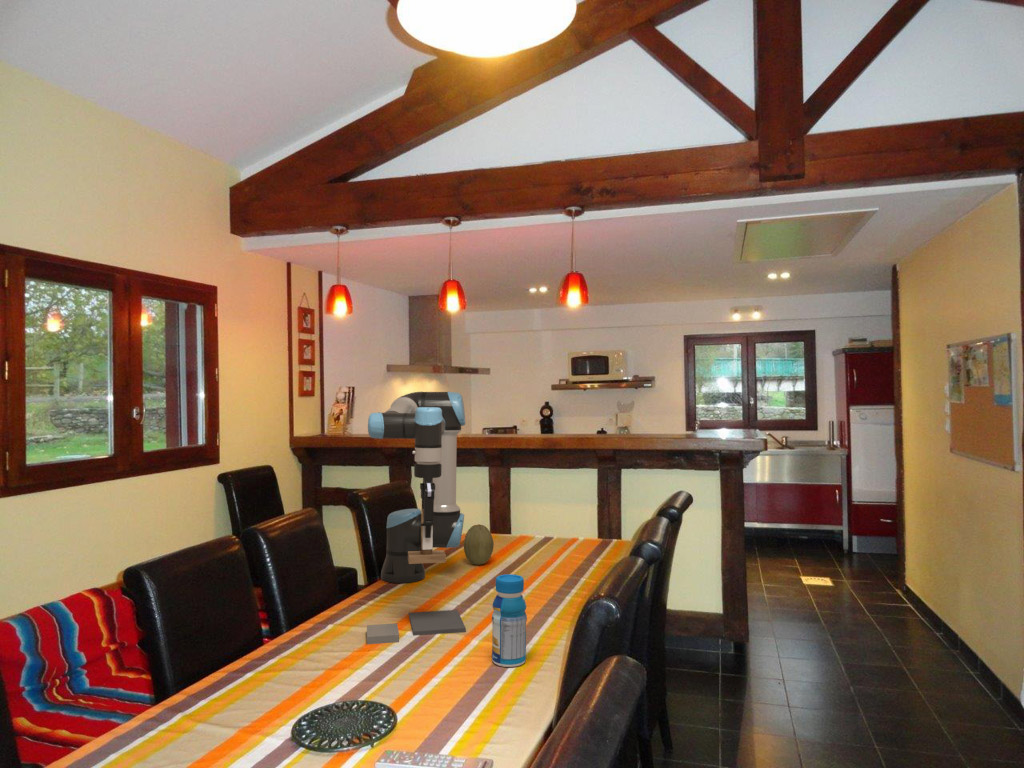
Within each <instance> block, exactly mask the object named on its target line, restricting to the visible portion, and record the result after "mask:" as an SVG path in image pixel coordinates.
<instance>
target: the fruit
mask: <svg viewBox="0 0 1024 768" xmlns="http://www.w3.org/2000/svg"><path fill="white" fill-rule="evenodd" d="M494 546H495V545H494V539H493V536H492V533H491V531H490V530H489V529H488V527H487V526H486V525H483V524H479V523H478V524H474V525H472V526H471V527H470V528H469V529H468V530H467V532H466V533H465V536H464V541H463V551H464V552H463V553H464V556H465V557H466V559H467V561H468V562H470V563H471V564H473V565H480V566H481V565H484V564H486V563H487V562H488V561H489V560H490V558H491V557H492V554H493V551H494Z"/></svg>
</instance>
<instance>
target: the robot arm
mask: <svg viewBox="0 0 1024 768" xmlns="http://www.w3.org/2000/svg"><path fill="white" fill-rule="evenodd" d="M367 419H368V421H367V433H368V436H369V437H370V438H371V439H379V440H382V439H407V440H409V439H410V440H411V439H412V440H413V439H414V450H412V453H411V454H412V455H414V462H416V463H414V465H413V467H414V468H413V470H414V471H413V474H414V475H413V476H414V477H415V478H417V479H422V482H421V483H420V484H419V488H420V498H421V508H405V509H399V510H396V511H392V512H391V513H389V514H388V516H387V519H386V526H385V527H386V556H385V558H384V561H383V564H382V568H381V570H380V571H381V572H380V579H381V580H382V581H384V582H388V583H395V584H404V583H405V584H407V583H413V582H418V581H422V580H424V579H425V577H426V569H425V566H424V563H419V564H409V562H408V551H421V526H423V542H422V549H423V550H426V549H433V548H434V549H435V548H437V549H439V548H440V549H443V548H444V549H448V548H451V549H452V548H458V547H459V546H460V544H461V540H462V534H463V529H464V523H465V522H464V521H465V514H464V513H462V512H461V507H460V506H458V505H457V449H458V448H457V446H458V445H457V441H458V438H457V437H458V434H460V433H461V432H462V427H464V426H466V414H465V405H464V399H463V395H462V394H461V393H460V392H457V391H456V392H455V391H452V392H451V391H416V392H415V391H413V392H410V393H407V394H406V393H405V394H404V395H401V396H399V397H398V398H397V397H396V399H394V400H393V402H392V403H391V405H390V407H389V408H388V409H387V410H386V411H385V412H380V411H378V412H371V413H370V414H369V416H368V418H367ZM422 509H424V514H423V524H421V510H422Z"/></svg>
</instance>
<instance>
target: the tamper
mask: <svg viewBox="0 0 1024 768" xmlns="http://www.w3.org/2000/svg"><path fill="white" fill-rule="evenodd" d="M420 510H421V524H423V514H424V509H422V508H421V509H420ZM422 542H423V526H421V547H420V551H408V562H409V564H419V563H423V564H436V563H437V564H440V563H443V564H444V563H446V562H447V561H446V560H447V554H446V552H445V550H444V549H438V550H437V549H434V550H433V549H426V550H423V549H422Z"/></svg>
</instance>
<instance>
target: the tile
mask: <svg viewBox="0 0 1024 768" xmlns="http://www.w3.org/2000/svg"><path fill="white" fill-rule="evenodd" d="M391 643H392V644H393V643H394V644H395V643H400V633H399V627H398V623H396V622H395V623H393V622H392V623H383V624H382V623H381V624H367V625H366V644H367V645H379V644H391Z"/></svg>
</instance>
